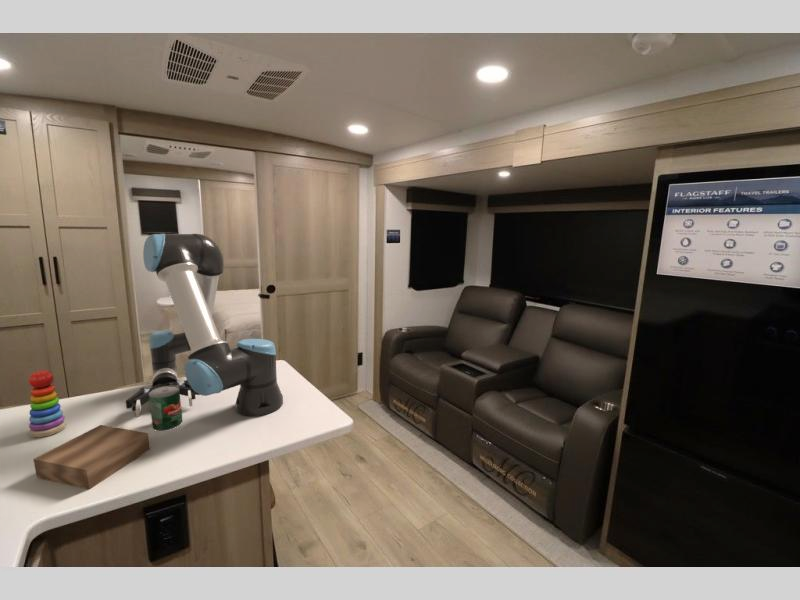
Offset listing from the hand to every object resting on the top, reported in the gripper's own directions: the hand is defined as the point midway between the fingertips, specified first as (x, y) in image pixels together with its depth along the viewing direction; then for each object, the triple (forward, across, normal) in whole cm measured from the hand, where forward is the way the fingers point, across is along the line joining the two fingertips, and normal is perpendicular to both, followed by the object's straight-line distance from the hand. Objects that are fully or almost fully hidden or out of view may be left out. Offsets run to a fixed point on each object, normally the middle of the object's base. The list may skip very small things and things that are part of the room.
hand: (164, 407), depth 111 cm
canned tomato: (0, 0, -6) cm, 6 cm away
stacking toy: (-13, +30, -6) cm, 33 cm away
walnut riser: (+12, +15, -6) cm, 20 cm away
